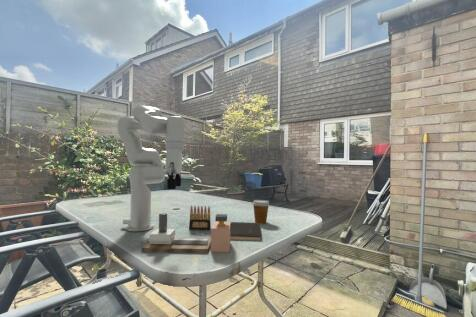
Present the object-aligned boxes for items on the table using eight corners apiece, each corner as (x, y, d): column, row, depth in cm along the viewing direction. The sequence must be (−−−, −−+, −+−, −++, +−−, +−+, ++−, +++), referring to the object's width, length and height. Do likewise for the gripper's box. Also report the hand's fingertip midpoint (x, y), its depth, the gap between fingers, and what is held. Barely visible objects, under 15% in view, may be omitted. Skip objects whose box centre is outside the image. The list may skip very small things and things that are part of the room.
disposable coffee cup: (249, 220, 137) (249, 200, 138) (263, 219, 141) (263, 199, 142) (257, 225, 129) (257, 203, 129) (272, 223, 133) (272, 202, 133)
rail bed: (141, 251, 89) (141, 243, 89) (153, 240, 101) (153, 233, 101) (207, 253, 89) (207, 245, 89) (211, 242, 101) (211, 234, 101)
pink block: (210, 252, 90) (211, 228, 90) (213, 242, 100) (214, 221, 100) (229, 252, 90) (229, 228, 90) (230, 243, 100) (230, 221, 100)
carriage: (149, 244, 92) (150, 216, 92) (155, 238, 99) (156, 212, 99) (170, 245, 92) (170, 216, 92) (175, 239, 99) (175, 212, 99)
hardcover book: (259, 227, 127) (259, 222, 127) (261, 241, 104) (261, 236, 104) (229, 226, 128) (229, 221, 128) (224, 240, 105) (224, 235, 105)
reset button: (215, 230, 93) (215, 216, 93) (216, 227, 98) (216, 214, 98) (226, 230, 93) (226, 216, 93) (227, 227, 97) (227, 214, 98)
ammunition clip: (188, 229, 119) (189, 205, 119) (189, 228, 120) (190, 205, 121) (210, 230, 118) (210, 206, 118) (210, 229, 120) (211, 205, 120)
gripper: (171, 147, 107) (170, 185, 107) (159, 144, 90) (159, 190, 90) (187, 147, 107) (187, 185, 107) (179, 145, 90) (179, 190, 90)
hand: (174, 187), depth 99 cm, fingers open, 9 cm apart
